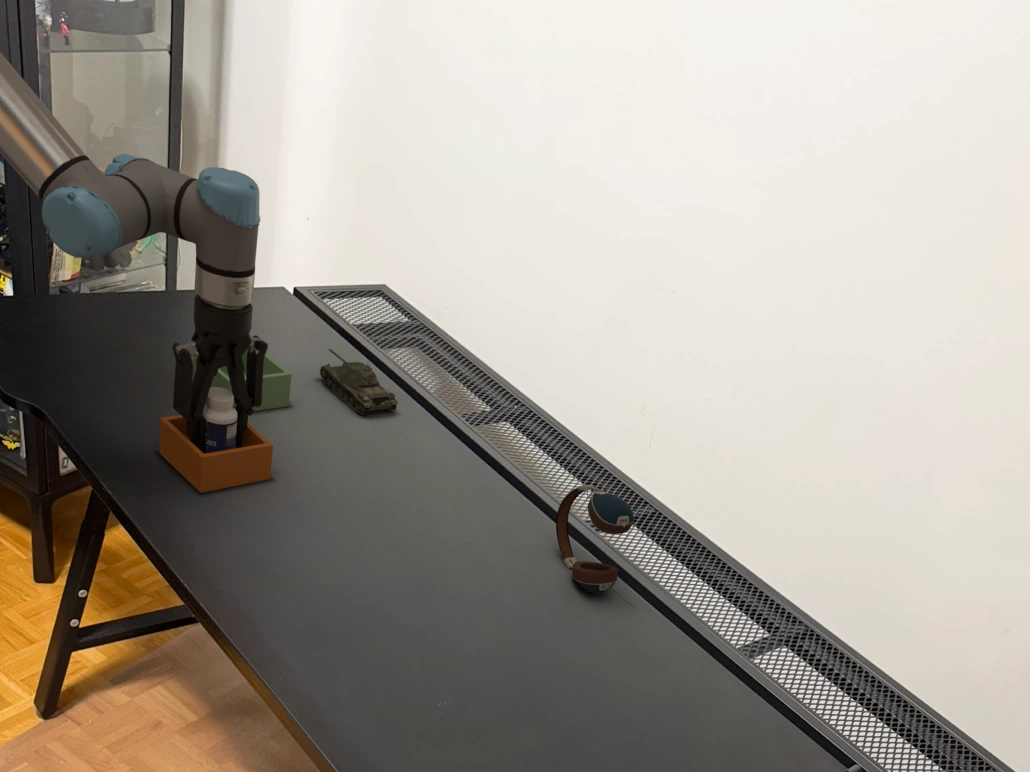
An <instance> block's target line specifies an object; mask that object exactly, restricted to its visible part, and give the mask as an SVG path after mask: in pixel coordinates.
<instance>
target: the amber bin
mask: <svg viewBox="0 0 1030 772" xmlns="http://www.w3.org/2000/svg"><path fill="white" fill-rule="evenodd" d="M158 445H159V454H160V455H161V456H162V458H164V459H165V460H166V461H167V462H168V463H169V464H170V465H171V466H172V467H173V468H174V469H175V470H176V471H177V472H178V473H179V474H180V475H181V476H183V478H184V479H185V480H186V481H187V482H189V483H190V484H191V485H192V486H193V487H194V489H196V490H197V491H198V492H199V493H200V494H203V493H209V492H212V491H217V490H223V489H228V488H232V487H237V486H238V487H239V486H244V485H247V484H248V485H249V484H252V483H253V484H254V483H259V482H262V481H268V480H271V474H272V473H271V472H272V463H273V462H272V461H273V452H274V444H273V443H272V442H270V441H269V440H268V439H267V438H266V437H264V436H263V435H262V434H261V432H259V431H258V430H257V429H256V428H254V427H253V426H252V425H251V424H250V423H248V425H247V429H246V431H243V437H242V448H236V449H230V450H224V451H218V452H213V453H207V454H204V453H203V452H202V451H200V450H199V449H198V448H197V447H196V446H195V445H194V444H193V443H192V442H191V441H190V437H189V436H188V435H187V433H186V418H184V417H182V416H181V415H180V414H178V415H171V416H164V417H159V444H158Z"/></svg>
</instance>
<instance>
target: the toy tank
mask: <svg viewBox="0 0 1030 772" xmlns="http://www.w3.org/2000/svg"><path fill="white" fill-rule="evenodd" d="M328 351H329V352H330V353H331V354H333V356H335V357H337V358H338V359H339V360H340V361H341V362H342V365H337V366H335V365H334V366H331V364H330V363H327V364H326V365H325V364H324V365H322V366H320V369H319V376H320V377H321V379H322V381H323V383H324V385H325V386H326V388H327V389H329V390H330V391H331V392H332V393H333V394H335V396H336V397H338V398H339V399H340V400H342V402H344V403H345V404H346V405H347V406H349V407H350V408H351V409H352V410H353V411H354V412H356V413H357V414H360V415H362V416H364V415H368V414H369V413H370V412H372V411H373V412H374V411H380V410H381V411H382V410H386V411H388V412H392V411H397V407H398V406H397V405H399V402H398V400H397V399H396V395H395V393H393V392H392V391H391V390H390V389H385V388H384V387H383V386H382V385H381V384H380V381H379V380H378V377H377V374H376V372H375V371H374V370H373V368H372V367H371V366H370V365H369V364H364V363H363V362H359V361H356V362H355V361H353V362H352V361H351V362H350V361H349V362H347V361H346V360H345V359H344V358H342V357H341V356H340V354H339V355H338V354H337V353H336V352H335V351H334V350H333V349H331V348H328ZM369 361H370V360H369V359H368V361H367V362H369Z"/></svg>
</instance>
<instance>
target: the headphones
mask: <svg viewBox="0 0 1030 772" xmlns="http://www.w3.org/2000/svg"><path fill="white" fill-rule="evenodd" d="M591 490H592V491H591ZM585 491H586V496H587V498H588V499H589V501H588V504H587V513H588V516H589V518H590V521H591V522H592V524H593V525H594V527H595V528H597V530H599V531H601V532H602V533H605V534H608V535H609V534H610V535H621V534H625V533H627V532H629V531H630V530H631V528H632V526H633V524H634V522H635V516H634V512H633V510H632V508H631V506H630V504H628V503H627V502H626V501H625V500H623V499H622V498H620V497H619V496H617V495H615V494H613V493H610V492H608V491H603V490H602V489H600V488H598V487H595V485H593V484H585V485H584V484H583V485H578V486H577V487H574V488H573V489H572V490H570V491H569V492H568V493H567V494H565V496H564V498H563V499H562V501H561V502H560V504H559V506H558V508H557V512H556V517H555V533H556V540H557V544H558V547H559V551H560V552H561V555H562V557H563V563H564V564H565V565H566V567H567V569H572V570H571V576H572V578H573V579H574V580H575V581H576V583H577V584H578V585H579V586H580V587H582V589H584V590H585V591H587V592H588V593H591V594H594V595H600V594H604V593H606V592H607V591H609V590H610V589H612V590H613V591H614V592H615V593H616V594H618V591H616V590H615V589H614V588H613V586H614V585H615V584H616V582H617V581H618V577H619V569H618V567H616V566H614V565H610V564H607V563H601V562H595V561H588V560H587V561H586V560H585V561H577V557H575V556H574V553H573V549H572V545H571V541H570V535H569V514H570V511H571V508H572V506H573V504H574V502H575V500H576V499H577V498H578V497H579V496H580V495H581V494H582V493H584V492H585ZM588 491H591V493H590V494H589V493H588ZM619 596H620V597H621V598H622V599H623V600H624V601H625V602H626V603H628V604H629V605H630V606H632V607H633V608H634V609H636V607H635V606H634V605H632V604H631V603H630V602H628V601H627V600H626V599H624V597H623V596H622V595H620V594H619Z"/></svg>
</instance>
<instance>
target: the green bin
mask: <svg viewBox="0 0 1030 772" xmlns="http://www.w3.org/2000/svg"><path fill="white" fill-rule="evenodd" d="M247 351H248V349H247V350H246V351H245V353H244V354H243V356H242V359H243V364H244V371H243V372H244V377H245V382H246V369H247ZM194 358H195V360H194V361H192V363H193V377H192V382H193V379H194V376H195V372H196V369H197V365H196V361H197V358H198V352H197V351H195V353H194ZM292 375H293V373H291V372H290V371H289V370H287V369H286V368H285V367H284V366H282V365H281V364H280V363H279V362H278V361H276V360H275V359H274V358H273V357H271V356H270V355H269V354H267V353H266V354H265V357H264V364H263V385H262V404H261V406H260V407H253V408H252V409H253V410H254V412H258V411H265V410H271V409H278V408H285V407H289V404H290V397H291V396H290V395H291V385H292ZM212 387H219V388H224V389H227V390H229V391H230V392H232V389H231V384H230V379H229V375H228V370H227V367H226V366H224V367H221V368H219V369H218V372H217V375H216V376H214V377H213V380H212V384H211V387H210V388H212ZM232 394H233V393H232ZM233 406H235V407H236V404H235V402H234V401H233Z"/></svg>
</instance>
